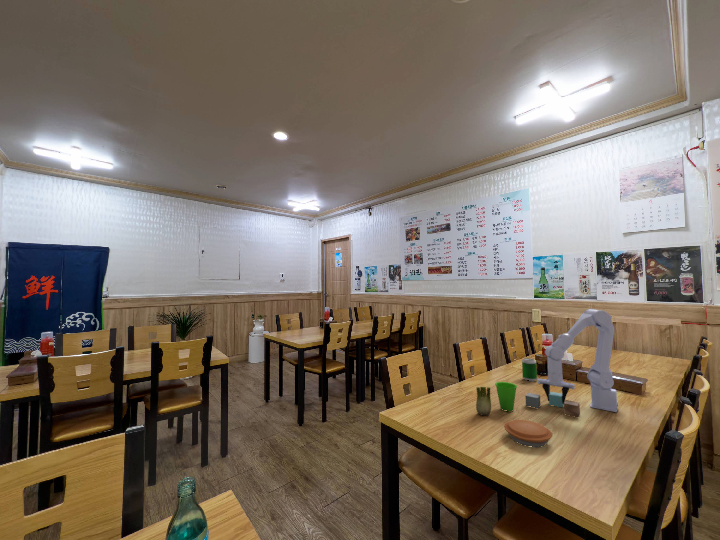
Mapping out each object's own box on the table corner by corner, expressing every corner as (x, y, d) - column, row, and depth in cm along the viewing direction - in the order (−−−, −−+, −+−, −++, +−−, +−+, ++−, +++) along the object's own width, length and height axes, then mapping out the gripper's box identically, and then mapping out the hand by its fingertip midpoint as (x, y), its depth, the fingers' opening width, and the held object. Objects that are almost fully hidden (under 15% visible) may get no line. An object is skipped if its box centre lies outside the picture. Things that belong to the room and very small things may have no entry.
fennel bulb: (491, 414, 136) (490, 386, 136) (490, 418, 132) (489, 389, 132) (477, 411, 139) (476, 384, 139) (475, 415, 134) (474, 387, 135)
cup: (495, 411, 138) (494, 386, 139) (496, 404, 146) (495, 380, 147) (517, 415, 134) (516, 389, 135) (518, 407, 142) (517, 383, 143)
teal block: (563, 404, 145) (563, 393, 145) (562, 408, 141) (561, 396, 141) (551, 402, 148) (550, 391, 149) (549, 405, 144) (548, 394, 145)
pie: (510, 426, 124) (509, 413, 124) (556, 438, 114) (555, 424, 114) (499, 441, 112) (498, 427, 112) (549, 456, 102) (548, 440, 102)
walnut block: (579, 414, 134) (579, 402, 135) (578, 418, 131) (577, 405, 131) (566, 411, 138) (565, 399, 138) (564, 415, 134) (563, 403, 134)
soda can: (539, 381, 180) (538, 360, 180) (526, 382, 180) (525, 360, 181) (532, 378, 187) (532, 357, 188) (520, 378, 187) (519, 357, 188)
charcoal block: (540, 406, 144) (540, 395, 144) (538, 409, 140) (537, 398, 141) (528, 403, 147) (528, 392, 148) (525, 406, 144) (525, 395, 144)
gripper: (574, 372, 144) (576, 402, 143) (538, 368, 153) (540, 396, 152) (573, 376, 139) (574, 407, 138) (536, 371, 148) (537, 400, 147)
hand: (556, 402), depth 145 cm, fingers closed on teal block, 5 cm apart
